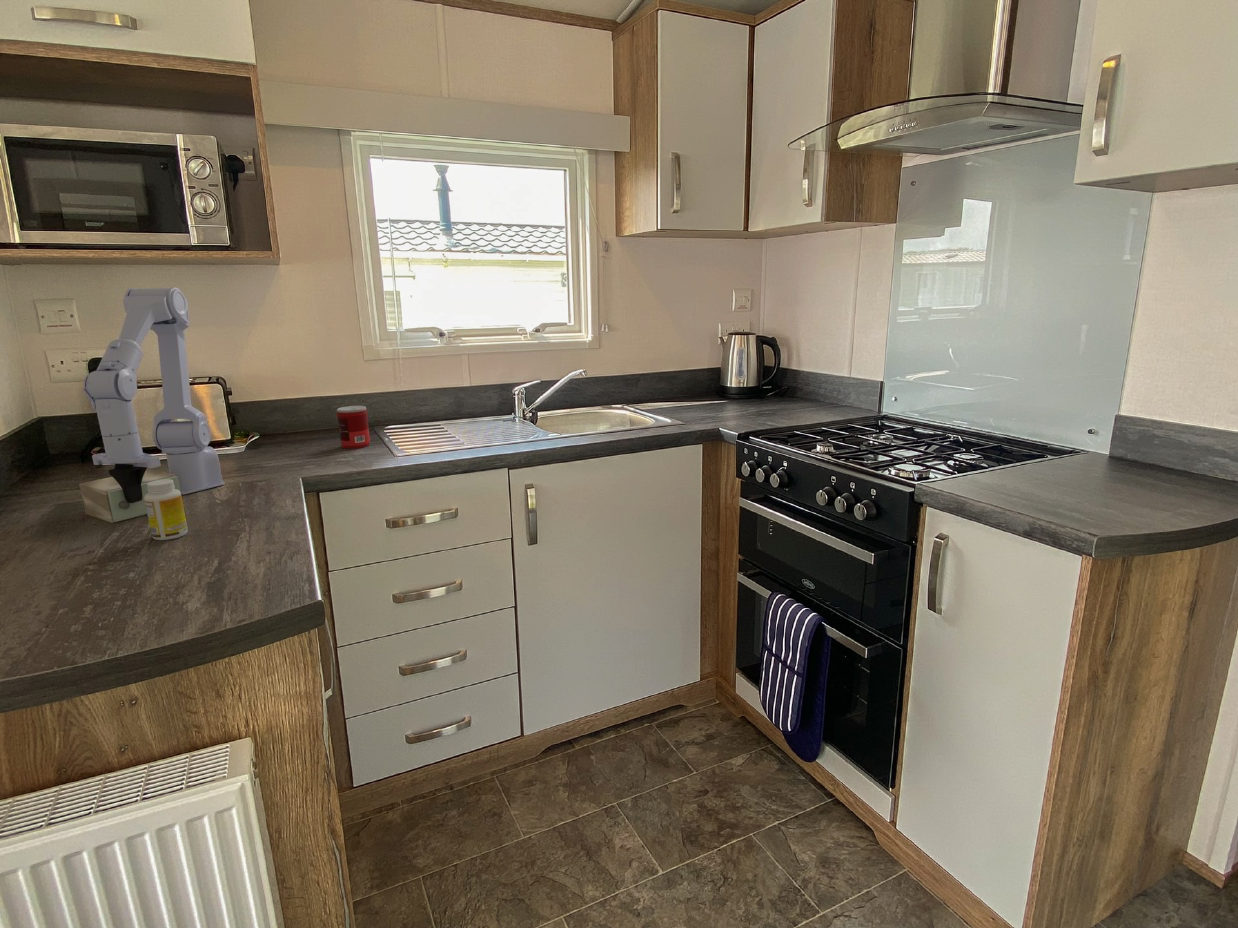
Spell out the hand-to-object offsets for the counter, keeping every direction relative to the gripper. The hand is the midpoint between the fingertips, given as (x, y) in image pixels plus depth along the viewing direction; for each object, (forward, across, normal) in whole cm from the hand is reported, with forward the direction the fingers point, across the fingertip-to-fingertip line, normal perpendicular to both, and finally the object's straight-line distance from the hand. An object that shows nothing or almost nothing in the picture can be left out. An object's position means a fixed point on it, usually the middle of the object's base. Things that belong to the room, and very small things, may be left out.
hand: (134, 501), depth 133 cm
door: (+3, 0, +3) cm, 4 cm away
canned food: (+4, +1, +66) cm, 66 cm away
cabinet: (+4, -7, +5) cm, 9 cm away
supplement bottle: (+4, +15, -6) cm, 17 cm away
